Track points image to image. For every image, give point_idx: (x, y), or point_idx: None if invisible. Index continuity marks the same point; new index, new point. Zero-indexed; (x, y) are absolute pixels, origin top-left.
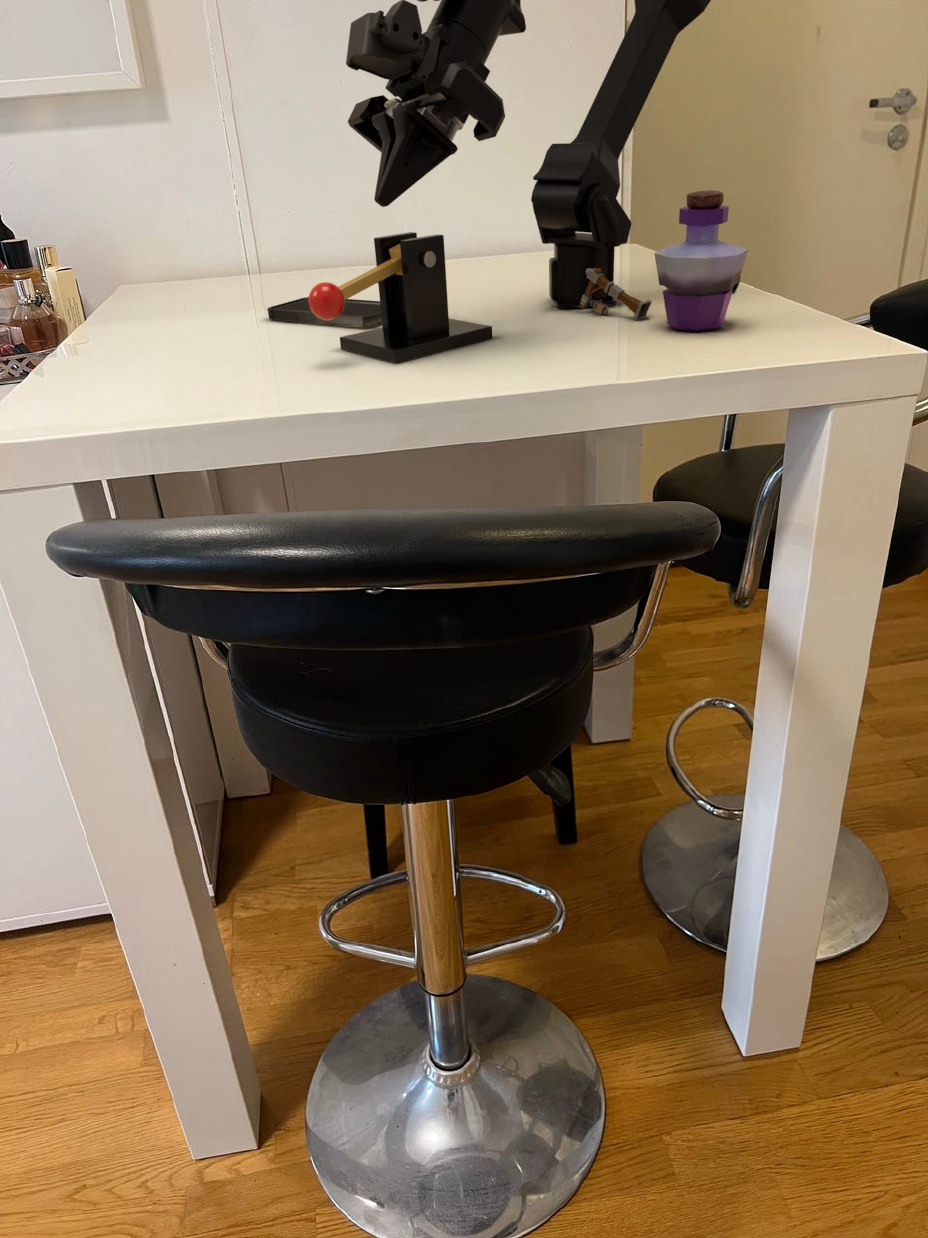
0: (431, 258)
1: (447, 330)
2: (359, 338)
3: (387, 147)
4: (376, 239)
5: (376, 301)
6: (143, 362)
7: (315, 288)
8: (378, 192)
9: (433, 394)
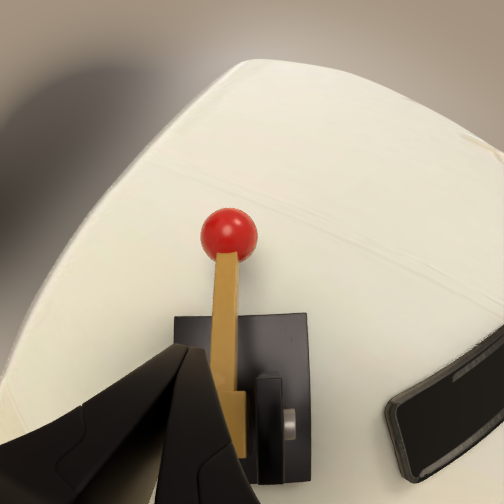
0: None
1: None
2: (273, 327)
3: (176, 500)
4: (269, 377)
5: (457, 456)
6: (408, 150)
7: (225, 210)
8: (180, 354)
9: (75, 269)
